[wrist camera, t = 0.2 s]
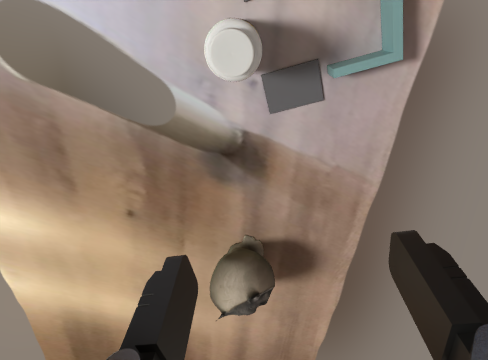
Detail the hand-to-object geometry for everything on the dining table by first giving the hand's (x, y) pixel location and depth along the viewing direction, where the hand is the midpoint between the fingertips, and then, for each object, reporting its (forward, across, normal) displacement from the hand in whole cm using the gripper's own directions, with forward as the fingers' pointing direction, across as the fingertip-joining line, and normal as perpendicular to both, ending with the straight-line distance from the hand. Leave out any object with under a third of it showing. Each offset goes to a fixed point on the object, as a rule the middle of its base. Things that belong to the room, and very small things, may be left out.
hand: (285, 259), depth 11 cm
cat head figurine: (+28, +8, +27) cm, 40 cm away
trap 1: (+29, -3, +1) cm, 29 cm away
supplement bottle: (+29, +3, -5) cm, 30 cm away
